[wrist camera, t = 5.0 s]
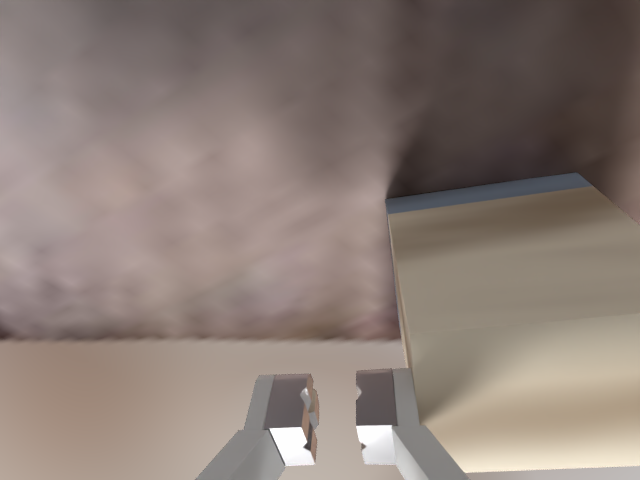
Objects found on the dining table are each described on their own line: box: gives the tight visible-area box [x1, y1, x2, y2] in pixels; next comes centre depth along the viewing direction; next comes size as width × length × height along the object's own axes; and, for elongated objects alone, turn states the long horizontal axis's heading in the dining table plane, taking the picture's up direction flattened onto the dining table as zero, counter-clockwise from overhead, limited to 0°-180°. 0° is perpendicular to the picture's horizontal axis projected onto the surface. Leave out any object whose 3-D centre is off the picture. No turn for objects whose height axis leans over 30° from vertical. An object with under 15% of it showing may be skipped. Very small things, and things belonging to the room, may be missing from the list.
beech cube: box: [385, 172, 640, 473], centre depth 12 cm, size 6×6×6 cm
